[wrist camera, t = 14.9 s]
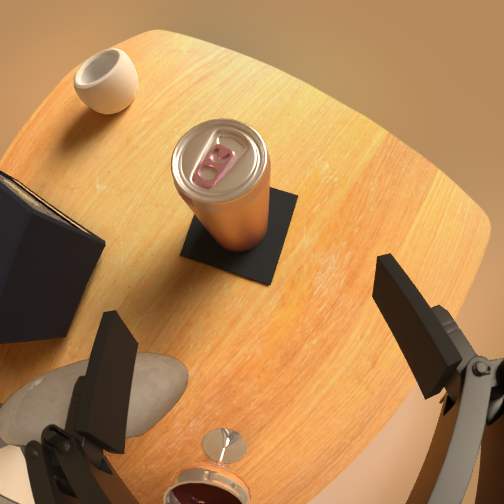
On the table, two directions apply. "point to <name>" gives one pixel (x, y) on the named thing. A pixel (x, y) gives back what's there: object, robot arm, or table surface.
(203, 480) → the wineglass
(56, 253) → the speaker
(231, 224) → the beverage can
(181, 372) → the smooth grey egg stone
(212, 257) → the table mark
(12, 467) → the laptop
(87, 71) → the mug
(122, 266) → the table surface
